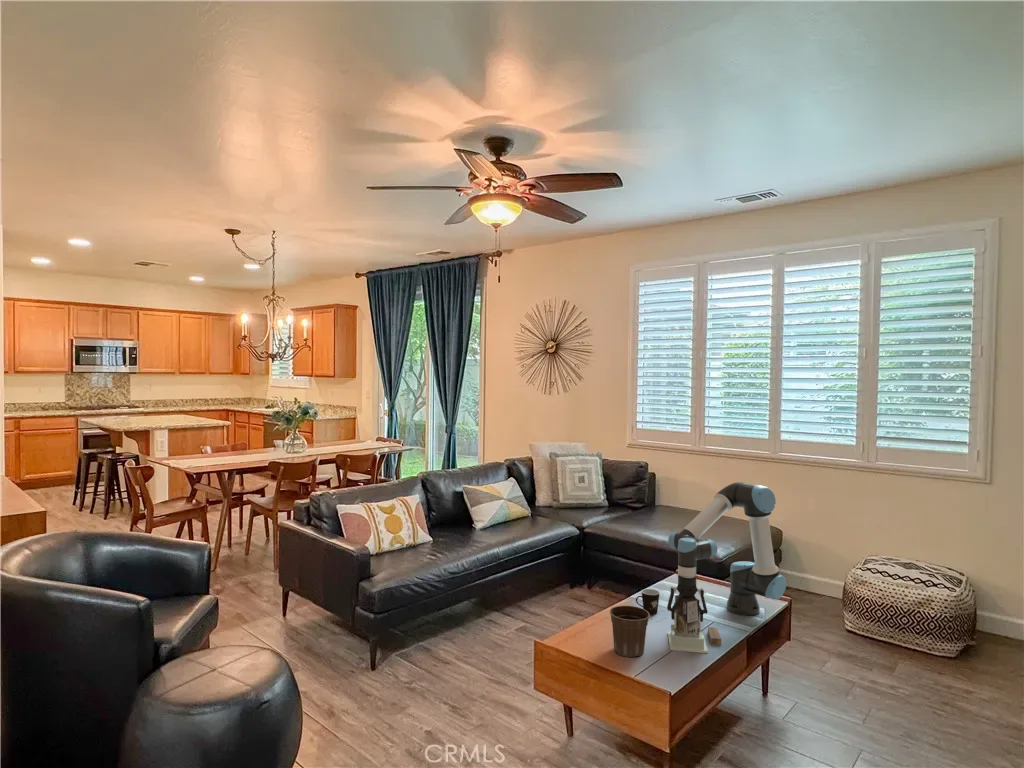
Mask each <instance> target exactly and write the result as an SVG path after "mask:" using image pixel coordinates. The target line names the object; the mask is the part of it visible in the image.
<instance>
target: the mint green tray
mask: <svg viewBox="0 0 1024 768" xmlns="http://www.w3.org/2000/svg"><path fill="white" fill-rule="evenodd" d="M701 630H702V627H701V625H700V630H699V638H693V637H682V636H680V635H679V634H677V633H676V632H675V628H674V623H670V631H667V638H668V645H669V650H670V651H678V652H690V653H701V654H708V653H709V650H708V647H707V643H706V639H705V635H704V634H703V633H702V632H701Z"/></svg>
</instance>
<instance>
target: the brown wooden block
mask: <svg viewBox="0 0 1024 768" xmlns="http://www.w3.org/2000/svg"><path fill="white" fill-rule="evenodd" d="M707 633H708V635H707V636H708V637H709V641H710V645H714V646H716V645H717V646H722V638H721V634H720V631H719V628H718V627H713V626H708V627H707Z"/></svg>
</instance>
